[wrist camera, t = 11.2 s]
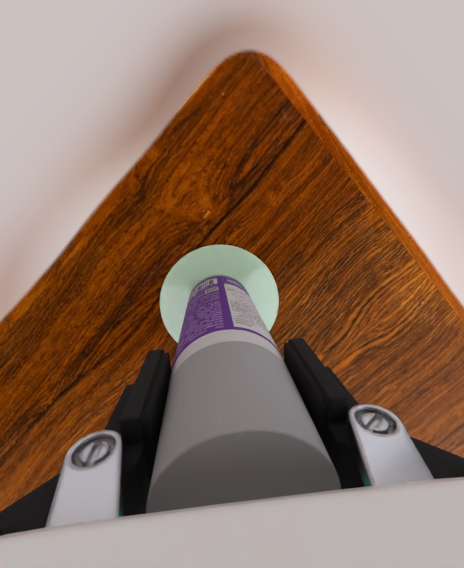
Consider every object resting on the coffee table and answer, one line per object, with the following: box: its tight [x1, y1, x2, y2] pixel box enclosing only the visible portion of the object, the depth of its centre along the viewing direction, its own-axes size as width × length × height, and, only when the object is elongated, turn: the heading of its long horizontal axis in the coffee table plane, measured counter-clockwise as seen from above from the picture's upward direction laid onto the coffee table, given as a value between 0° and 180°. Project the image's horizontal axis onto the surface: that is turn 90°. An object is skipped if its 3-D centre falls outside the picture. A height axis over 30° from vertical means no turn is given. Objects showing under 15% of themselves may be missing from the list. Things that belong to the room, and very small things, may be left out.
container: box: [146, 275, 341, 513], centre depth 13 cm, size 5×5×15 cm
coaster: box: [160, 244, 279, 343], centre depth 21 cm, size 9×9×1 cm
